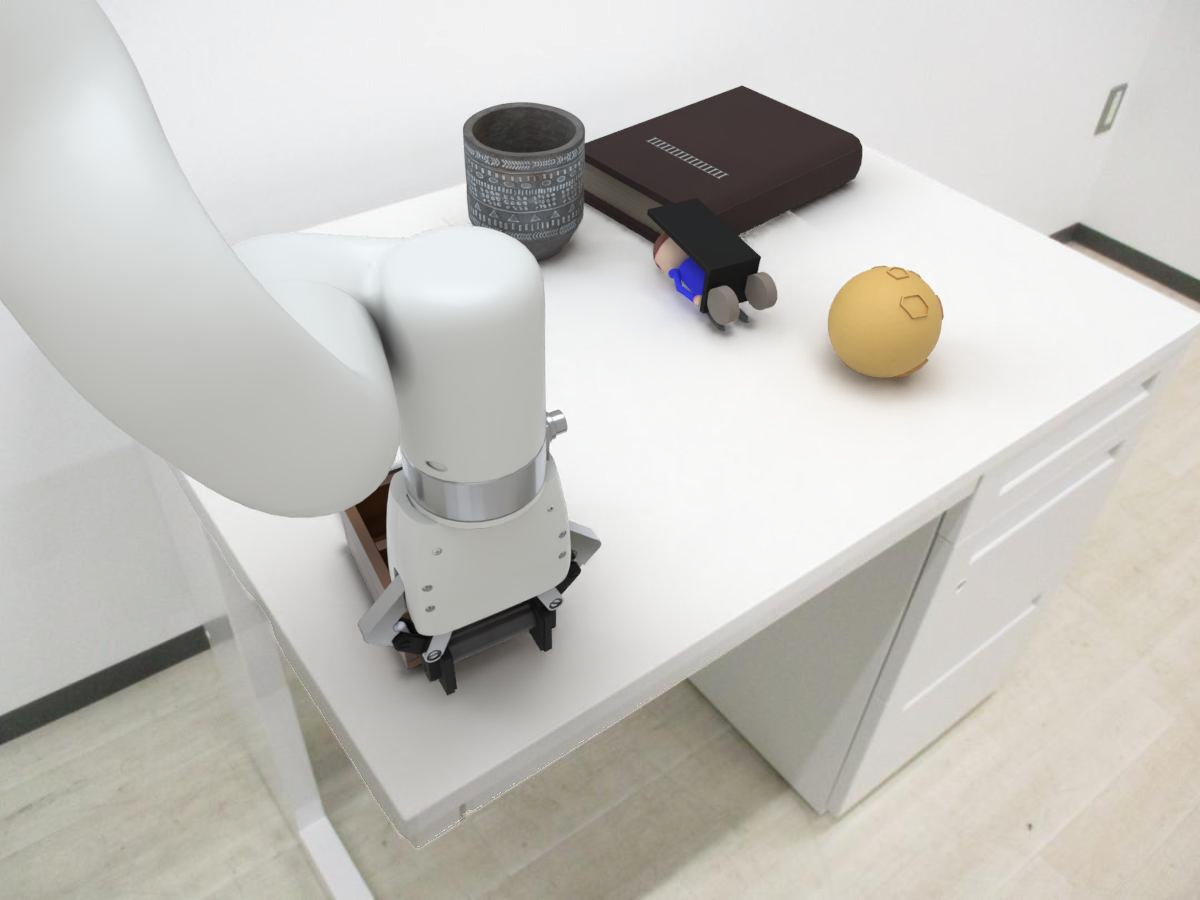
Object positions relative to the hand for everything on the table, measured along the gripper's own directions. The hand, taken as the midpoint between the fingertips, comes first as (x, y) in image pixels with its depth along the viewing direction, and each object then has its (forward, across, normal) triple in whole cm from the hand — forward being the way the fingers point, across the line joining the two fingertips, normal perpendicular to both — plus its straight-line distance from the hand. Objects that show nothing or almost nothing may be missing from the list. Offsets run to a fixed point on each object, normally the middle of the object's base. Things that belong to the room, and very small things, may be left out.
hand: (490, 654), depth 62 cm
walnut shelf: (+1, 0, -7) cm, 7 cm away
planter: (+2, -26, -47) cm, 54 cm away
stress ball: (+2, -45, -13) cm, 47 cm away
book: (+2, -51, -47) cm, 70 cm away
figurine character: (+2, -37, -30) cm, 47 cm away
